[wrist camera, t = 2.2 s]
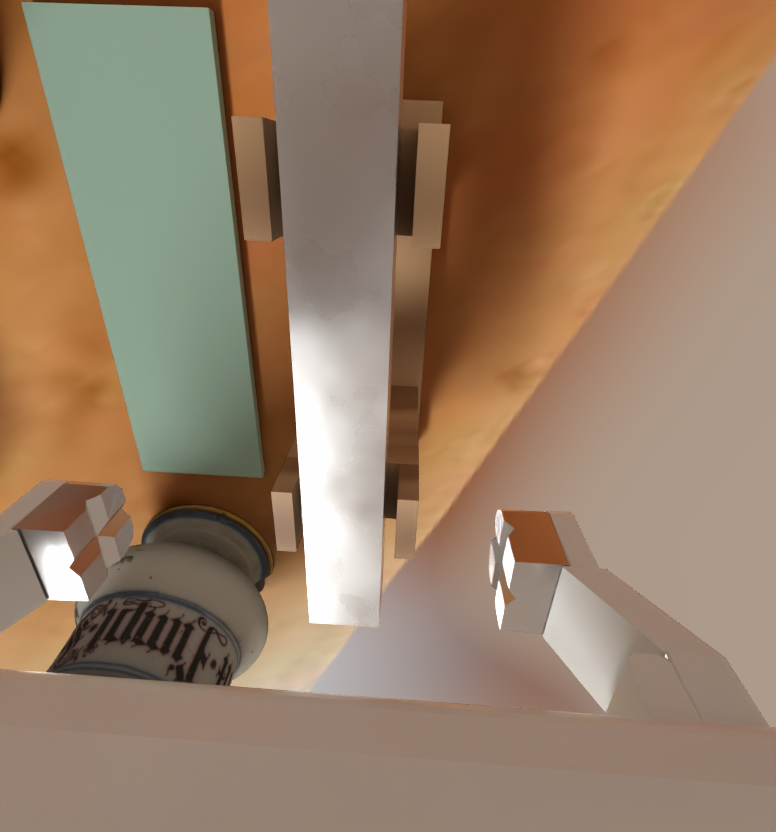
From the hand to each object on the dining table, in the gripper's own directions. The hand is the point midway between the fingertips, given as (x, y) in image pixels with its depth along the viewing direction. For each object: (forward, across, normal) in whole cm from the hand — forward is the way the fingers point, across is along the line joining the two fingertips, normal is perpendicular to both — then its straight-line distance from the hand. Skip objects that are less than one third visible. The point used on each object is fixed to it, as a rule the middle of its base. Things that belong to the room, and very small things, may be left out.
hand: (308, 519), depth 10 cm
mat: (+18, +11, -1) cm, 21 cm away
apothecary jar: (+18, +12, +19) cm, 29 cm away
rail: (+8, 0, 0) cm, 9 cm away
